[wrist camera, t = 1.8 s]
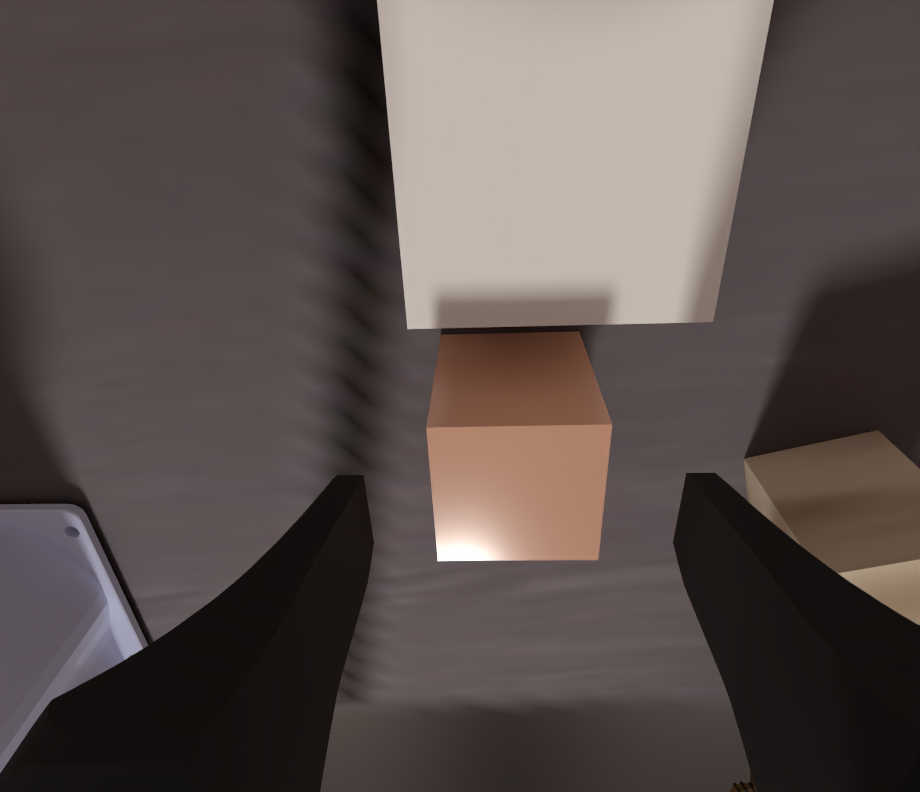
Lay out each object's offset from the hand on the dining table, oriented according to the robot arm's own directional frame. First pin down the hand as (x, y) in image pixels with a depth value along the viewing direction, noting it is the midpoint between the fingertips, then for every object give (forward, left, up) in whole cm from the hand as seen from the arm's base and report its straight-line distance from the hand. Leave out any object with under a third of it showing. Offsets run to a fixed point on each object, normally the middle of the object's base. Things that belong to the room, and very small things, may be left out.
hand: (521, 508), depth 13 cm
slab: (+7, -1, -5) cm, 9 cm away
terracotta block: (0, 0, -5) cm, 5 cm away
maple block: (-4, -10, -5) cm, 12 cm away
